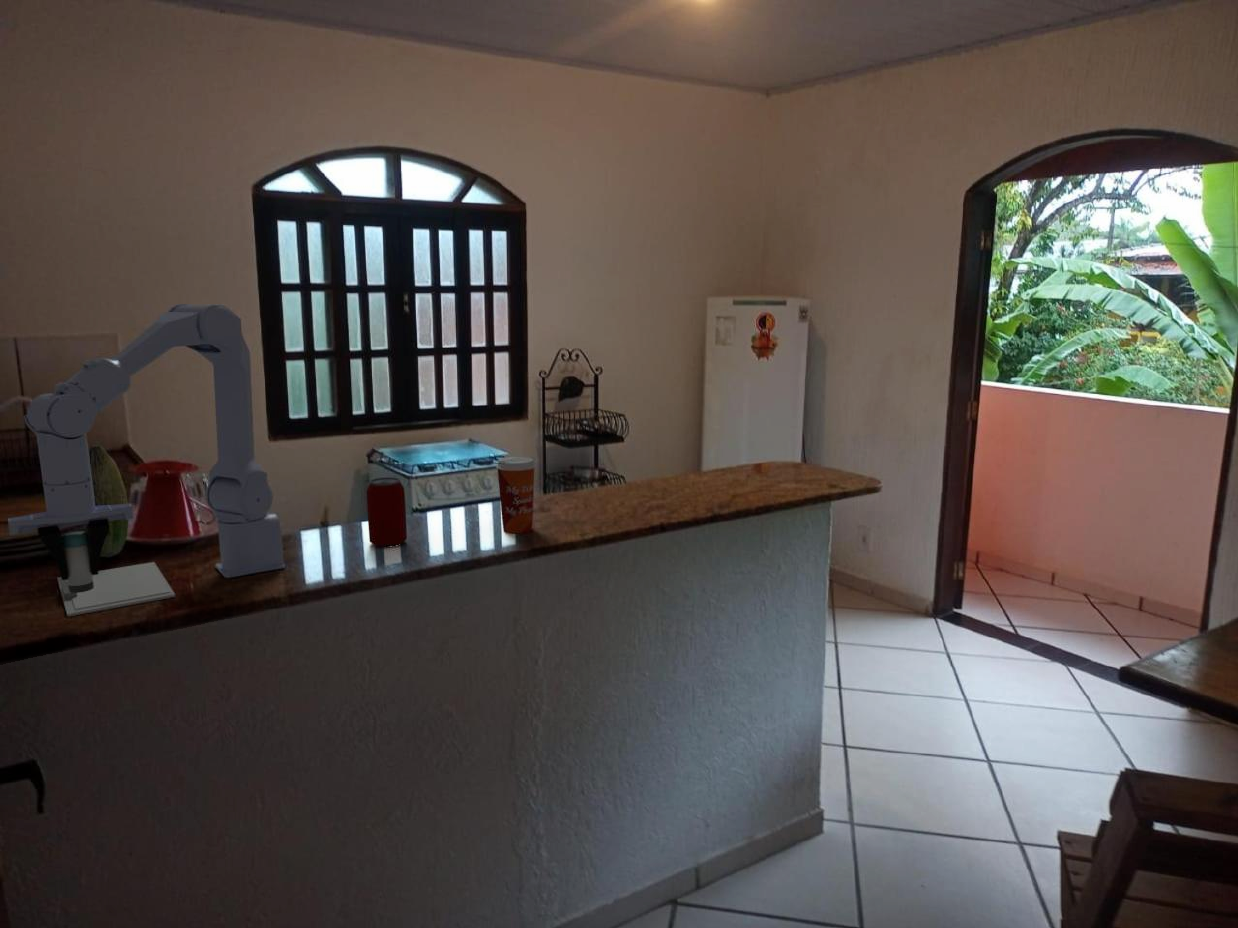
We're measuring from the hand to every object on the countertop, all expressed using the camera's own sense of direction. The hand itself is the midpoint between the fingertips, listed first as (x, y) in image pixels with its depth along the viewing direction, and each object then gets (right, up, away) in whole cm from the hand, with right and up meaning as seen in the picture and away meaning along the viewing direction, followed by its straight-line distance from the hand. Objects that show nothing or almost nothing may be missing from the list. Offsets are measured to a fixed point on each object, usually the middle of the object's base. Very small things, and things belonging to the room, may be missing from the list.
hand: (79, 575), depth 120 cm
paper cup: (+56, +3, +48) cm, 73 cm away
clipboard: (-4, -4, +14) cm, 15 cm away
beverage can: (+33, +1, +38) cm, 51 cm away
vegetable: (-13, -1, +31) cm, 33 cm away
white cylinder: (0, -2, 0) cm, 2 cm away
